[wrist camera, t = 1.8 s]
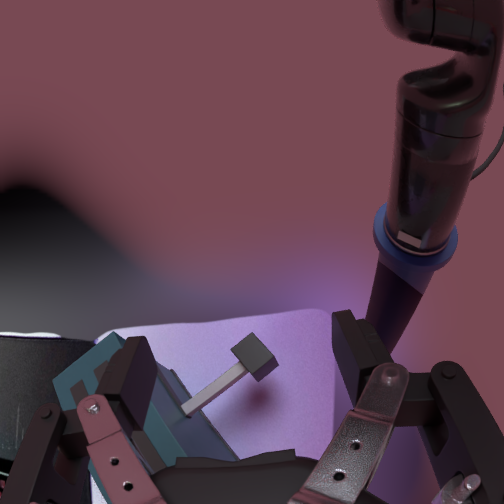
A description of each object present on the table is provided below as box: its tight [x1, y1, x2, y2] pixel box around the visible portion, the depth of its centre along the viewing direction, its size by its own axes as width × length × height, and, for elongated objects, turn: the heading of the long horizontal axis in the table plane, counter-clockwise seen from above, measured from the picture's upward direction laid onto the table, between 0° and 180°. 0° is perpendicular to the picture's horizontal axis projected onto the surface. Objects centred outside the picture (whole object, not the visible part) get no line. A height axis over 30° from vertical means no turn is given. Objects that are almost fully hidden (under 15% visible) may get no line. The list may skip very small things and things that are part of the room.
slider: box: [181, 332, 279, 416], centre depth 25 cm, size 9×3×3 cm, turn 128°
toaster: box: [53, 331, 240, 504], centre depth 23 cm, size 8×14×12 cm, turn 38°
